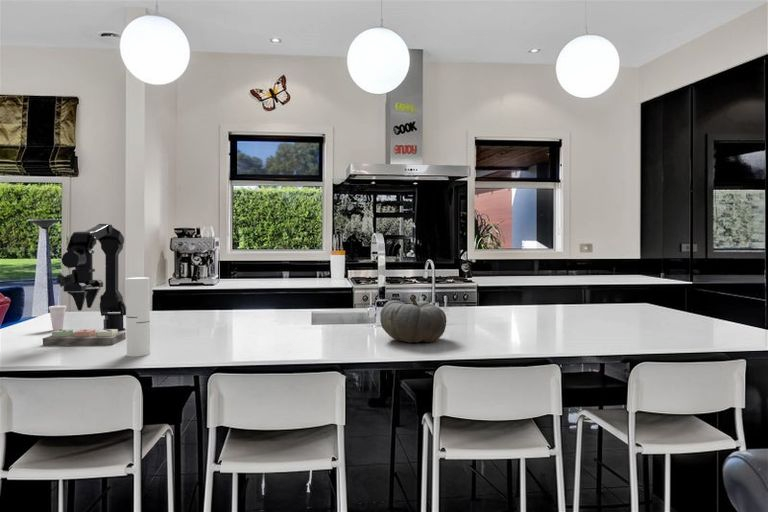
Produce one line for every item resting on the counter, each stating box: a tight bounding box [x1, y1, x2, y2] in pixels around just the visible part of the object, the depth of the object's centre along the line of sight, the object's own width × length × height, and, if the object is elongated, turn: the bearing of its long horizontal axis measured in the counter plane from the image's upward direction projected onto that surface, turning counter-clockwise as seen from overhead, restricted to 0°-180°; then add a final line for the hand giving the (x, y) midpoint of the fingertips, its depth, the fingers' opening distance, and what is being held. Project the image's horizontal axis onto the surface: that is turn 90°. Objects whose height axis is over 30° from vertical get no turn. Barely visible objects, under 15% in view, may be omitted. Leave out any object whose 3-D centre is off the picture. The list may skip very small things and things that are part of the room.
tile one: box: [74, 328, 96, 337], centre depth 210 cm, size 5×5×3 cm
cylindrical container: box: [125, 276, 151, 358], centre depth 189 cm, size 7×7×25 cm
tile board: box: [42, 331, 127, 347], centre depth 210 cm, size 24×12×2 cm, turn 94°
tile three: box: [97, 328, 119, 336], centre depth 211 cm, size 5×5×3 cm
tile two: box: [51, 329, 74, 337], centre depth 210 cm, size 5×5×3 cm
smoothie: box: [48, 295, 67, 332], centre depth 237 cm, size 6×6×14 cm
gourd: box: [379, 295, 447, 343], centre depth 216 cm, size 25×25×17 cm
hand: (84, 309), depth 210 cm, fingers open, 7 cm apart
